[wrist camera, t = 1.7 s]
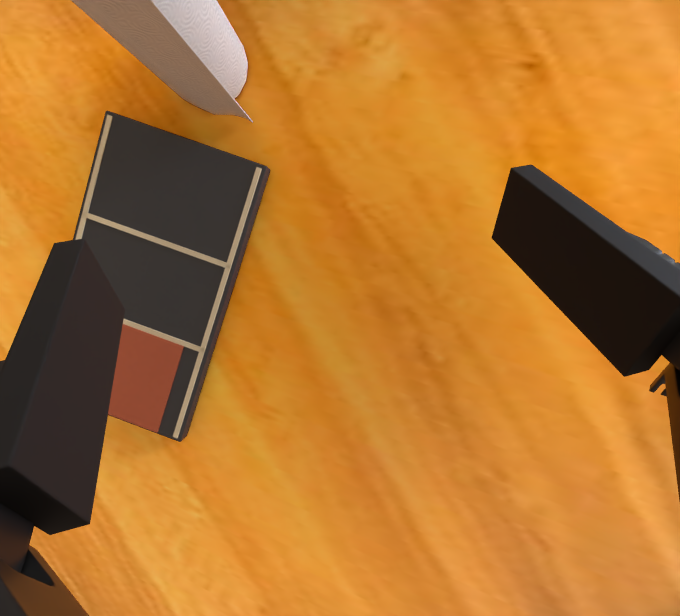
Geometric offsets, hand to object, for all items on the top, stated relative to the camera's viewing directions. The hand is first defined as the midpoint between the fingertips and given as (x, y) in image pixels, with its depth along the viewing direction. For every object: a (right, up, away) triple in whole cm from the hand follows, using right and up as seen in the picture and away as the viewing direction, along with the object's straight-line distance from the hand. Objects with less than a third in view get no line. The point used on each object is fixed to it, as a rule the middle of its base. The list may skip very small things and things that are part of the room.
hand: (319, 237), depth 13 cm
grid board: (-15, 0, +20) cm, 25 cm away
